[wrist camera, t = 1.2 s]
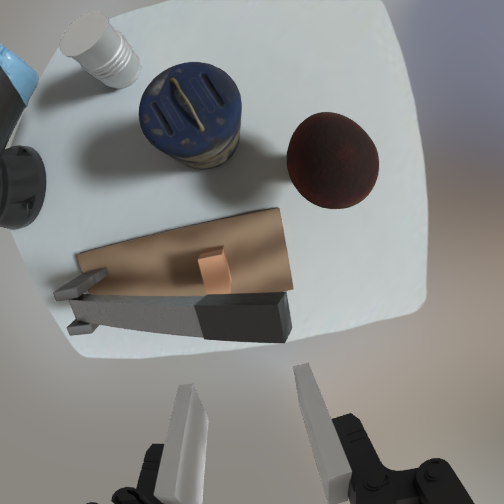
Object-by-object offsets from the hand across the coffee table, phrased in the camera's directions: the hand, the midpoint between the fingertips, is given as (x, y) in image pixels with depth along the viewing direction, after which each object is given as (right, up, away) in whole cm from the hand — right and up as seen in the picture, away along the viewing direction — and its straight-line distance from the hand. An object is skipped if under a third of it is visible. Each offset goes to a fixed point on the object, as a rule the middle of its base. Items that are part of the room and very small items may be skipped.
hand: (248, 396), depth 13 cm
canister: (-6, +23, +25) cm, 35 cm away
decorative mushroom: (+9, +20, +27) cm, 34 cm away
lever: (-10, +1, +15) cm, 18 cm away
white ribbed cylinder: (-20, +36, +22) cm, 46 cm away
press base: (-11, +5, +29) cm, 31 cm away
